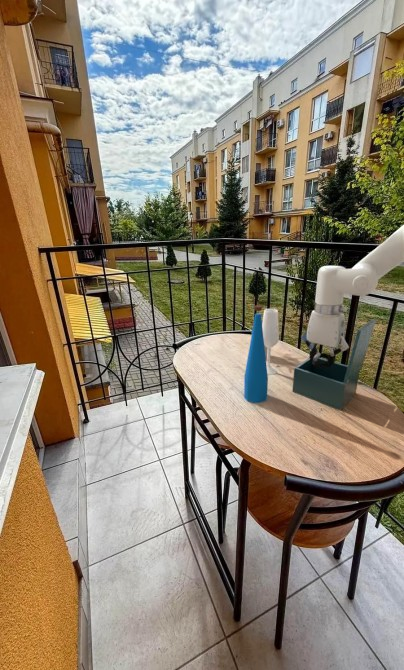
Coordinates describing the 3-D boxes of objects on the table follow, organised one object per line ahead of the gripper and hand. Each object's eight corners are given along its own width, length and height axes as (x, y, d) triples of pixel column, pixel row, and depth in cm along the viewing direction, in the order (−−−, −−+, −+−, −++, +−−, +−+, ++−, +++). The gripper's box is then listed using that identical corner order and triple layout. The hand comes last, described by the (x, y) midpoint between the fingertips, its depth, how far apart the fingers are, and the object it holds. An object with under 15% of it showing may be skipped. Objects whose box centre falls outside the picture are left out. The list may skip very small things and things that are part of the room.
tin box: (292, 391, 93) (294, 368, 90) (309, 377, 102) (312, 355, 98) (340, 410, 83) (344, 384, 80) (355, 393, 91) (360, 369, 88)
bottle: (241, 400, 90) (242, 308, 79) (247, 388, 96) (250, 302, 85) (263, 405, 87) (268, 310, 76) (269, 393, 93) (274, 304, 82)
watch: (320, 358, 94) (321, 348, 93) (334, 362, 91) (335, 352, 89) (308, 365, 89) (309, 355, 88) (322, 370, 86) (323, 359, 85)
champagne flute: (277, 375, 104) (281, 313, 96) (259, 374, 105) (261, 312, 97) (276, 367, 110) (280, 308, 102) (259, 366, 112) (261, 307, 103)
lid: (357, 329, 73) (360, 330, 73) (373, 318, 81) (376, 319, 81) (343, 382, 80) (346, 383, 79) (358, 367, 88) (361, 368, 87)
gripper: (363, 310, 80) (353, 367, 87) (306, 302, 92) (302, 352, 98) (353, 316, 75) (344, 376, 82) (295, 306, 87) (291, 359, 93)
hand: (321, 362), depth 90 cm, fingers closed on watch, 4 cm apart
